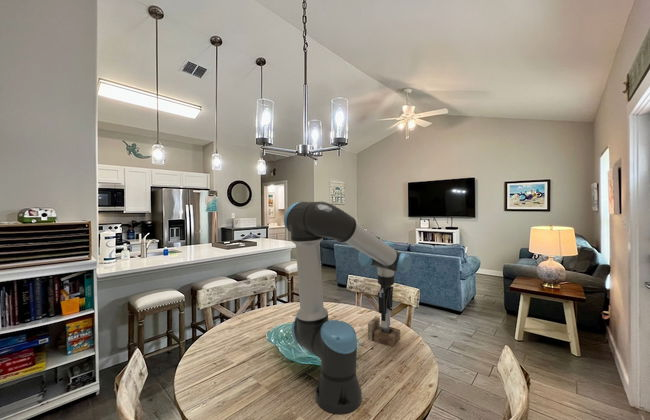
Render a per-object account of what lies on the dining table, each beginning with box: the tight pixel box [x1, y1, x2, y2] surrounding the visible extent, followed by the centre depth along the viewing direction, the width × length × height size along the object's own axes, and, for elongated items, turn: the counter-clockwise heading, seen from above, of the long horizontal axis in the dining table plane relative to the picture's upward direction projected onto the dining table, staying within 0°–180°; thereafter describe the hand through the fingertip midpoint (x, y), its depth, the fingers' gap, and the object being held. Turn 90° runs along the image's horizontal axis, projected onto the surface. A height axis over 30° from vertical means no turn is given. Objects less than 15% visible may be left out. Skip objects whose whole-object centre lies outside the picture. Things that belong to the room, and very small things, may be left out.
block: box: [373, 325, 401, 348], centre depth 127 cm, size 9×9×4 cm
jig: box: [367, 316, 381, 342], centre depth 127 cm, size 9×16×9 cm, turn 56°
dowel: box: [383, 308, 390, 333], centre depth 128 cm, size 3×3×12 cm
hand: (385, 325), depth 128 cm, fingers closed on dowel, 3 cm apart
